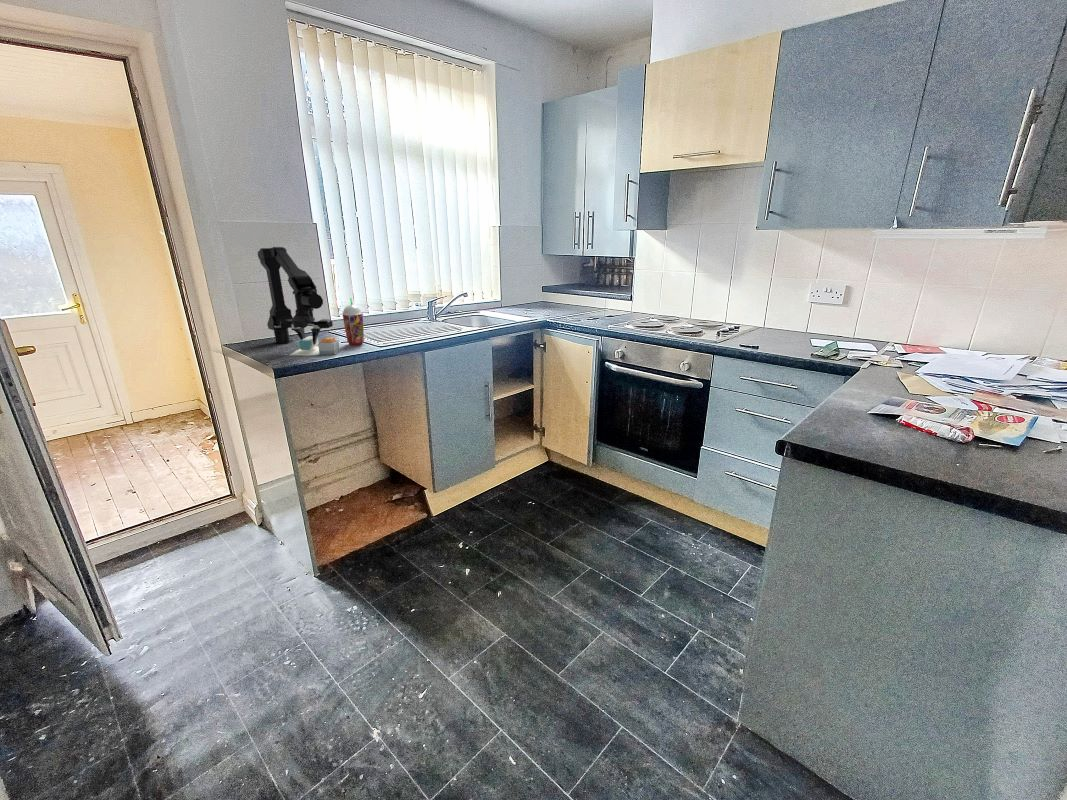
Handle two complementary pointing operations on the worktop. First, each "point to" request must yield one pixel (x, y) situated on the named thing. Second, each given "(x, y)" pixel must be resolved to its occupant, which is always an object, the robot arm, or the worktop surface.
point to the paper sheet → (307, 351)
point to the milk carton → (308, 343)
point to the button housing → (329, 348)
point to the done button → (328, 340)
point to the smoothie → (353, 324)
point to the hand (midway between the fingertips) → (309, 344)
